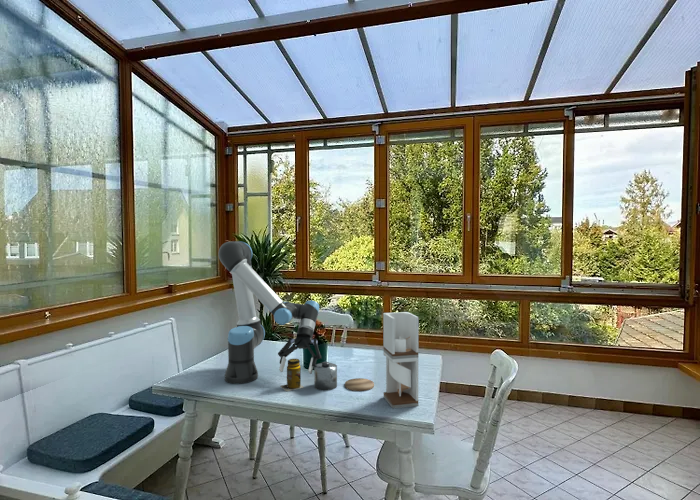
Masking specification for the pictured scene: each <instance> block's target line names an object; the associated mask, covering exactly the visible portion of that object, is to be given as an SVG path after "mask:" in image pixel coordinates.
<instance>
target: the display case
mask: <svg viewBox="0 0 700 500" xmlns="http://www.w3.org/2000/svg"><path fill="white" fill-rule="evenodd" d="M382 316H383V324H382V325H383V326H382V327H383V330H382V331H383V334H382V335H383V343H382V344H383V356H385V365H386V366H385V378H386V379H385V380H386V381H385V384H386V386H385V390H386V391H385V392H384V391H383V399H385V401H386V402H387V403H388V405H390V407H391V409H401V408H410V407H418V406H419V332H420V331H419V328H420V327H419V316H417V315H415V314H413V313H410V312H408V311H401V312H399V311H398V312H396V311H395V312H383V315H382Z"/></svg>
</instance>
